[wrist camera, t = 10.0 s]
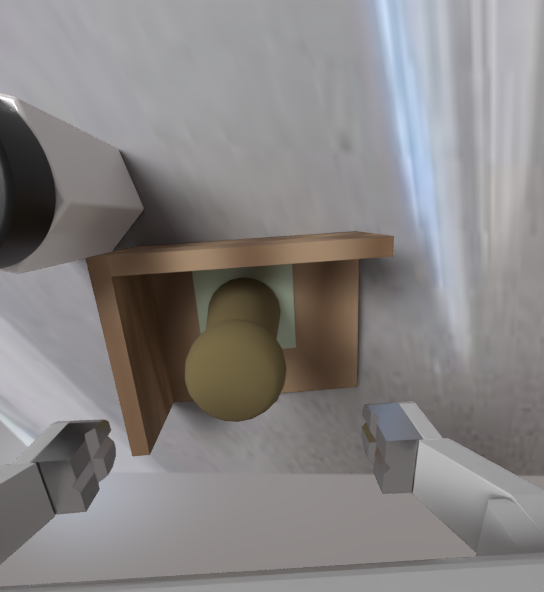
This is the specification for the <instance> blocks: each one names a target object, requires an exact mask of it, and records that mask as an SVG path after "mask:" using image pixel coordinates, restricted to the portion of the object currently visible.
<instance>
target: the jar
mask: <svg viewBox="0 0 544 592" xmlns="http://www.w3.org/2000/svg"><path fill="white" fill-rule="evenodd" d="M143 210H144V207H143V205H142V203H141V200H140V198H139V196H138V193H137V191H136V189H135V186H134V184H133V182H132V179H131V177H130V175H129V172H128V170H127V168H126V166H125V163H124V161H123V159H122V156H121V154H120V152H119V150H118V148H116V147H114V146H112V145H110V144H109V143H107V142H105V141H103V140H101V139H99V138H97V137H95V136H93V135H91V134H89V133H87V132H85V131H83V130H81V129H79V128H77V127H75V126H73V125H71V124H69V123H67V122H65V121H63V120H61V119H59V118H57V117H55V116H53V115H51V114H49V113H47V112H45V111H43V110H41V109H39V108H37V107H35V106H33V105H31V104H29V103H27V102H25V101H23V100H21V99H19V98H17V97H14V96H10V95H6V94H1V93H0V271H5V272H11V273H16V274H21V273H25V272H29V271H34V270H38V269H42V268H47V267H51V266H55V265H60V264H64V263H68V262H73V261H77V260H81V259H86V257H91V256H95V255H100V254H104V253H109V252H112V251H113V250H114V248H115V247H116V246H117V244H118V243H119V242H120V240H121V239H122V238H123V236H124V235H125V234H126V233H127V231H128V230H129V229H130V227H131V226H132V225H133V223H134V222H135V221H136V219H137V218H138V217H139V215H140V214H141V213H142V212H143Z"/></svg>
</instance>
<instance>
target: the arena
mask: <svg viewBox="0 0 544 592" xmlns="http://www.w3.org/2000/svg"><path fill="white" fill-rule="evenodd" d="M393 246H394V236H389V235H381V234H373V233H366V232H358V231H353V232H338V233H324V234H309V235H295V236H281V237H266V238H252V239H237V240H223V241H208V242H194V243H179V244H165V245H150V246H136V247H131V248H126V249H122V250H117V251H113V252H109V253H104V254H100V255H95V256H91V257H86V262H87V266H88V270H89V274H90V279H91V283H92V287H93V291H94V296H95V300H96V304H97V308H98V312H99V317H100V321H101V325H102V329H103V334H104V338H105V342H106V346H107V350H108V355H109V359H110V363H111V367H112V372H113V376H114V380H115V384H116V389H117V393H118V397H119V401H120V405H121V410H122V414H123V418H124V422H125V427H126V431H127V435H128V439H129V444H130V448H131V452H132V456H142V455H150V453H151V451H152V449H153V447H154V444H155V442H156V440H157V438H158V436H159V434H160V431H161V429H162V427H163V425H164V423H165V420H166V418H167V416H168V414H169V412H170V409H171V407H172V405H173V403H174V402H182V401H193V398H192V397H191V396H190V394H189V391H188V388H187V385H186V382H185V363H186V359H187V356H188V354H189V351H190V349H191V347H192V345H193V343H194V342H195V341H196V339H197V338H198V337H199V336H200V335H201V334H202V333H203V332H204V331H205V330H206V322H207V314H208V306H209V302H210V300H211V297H212V295H213V293H214V292H215V291H216V290H217V289H218V288H219V287H220V286H221V285H222V284H224V283H226V282H227V281H229V280H232V279H236V278H241V277H243V278H253V279H256V280H258V281H261V282H263V283H265V284H266V285H267V286H268V287H269V288H270V289H272V290H273V292H274V293H275V295H276V297H277V298H278V300H279V305H280V310H281V312H280V321H279V327H278V333H277V339H276V340H277V341H278V343H279V344H280V346H281V348H282V349H283V353H284V358H285V362H286V367H287V370H286V378H285V384H284V387H283V389H282V391H281V393H287V392H299V391H311V390H323V389H335V388H346V387H357V353H358V288H359V259H364V258H377V257H391V256H393Z"/></svg>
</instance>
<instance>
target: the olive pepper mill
mask: <svg viewBox="0 0 544 592" xmlns="http://www.w3.org/2000/svg"><path fill="white" fill-rule="evenodd" d="M280 312H281V310H280V305H279V300H278V298H277V297H276V295H275V293H274V292H273V290H272V289H270V288H269V287H268V286H267V285H266V284H265V283H263V282H261V281H258V280H256V279H253V278H243V277H241V278H236V279H232V280H229V281H227V282H226V283H224V284H222V285H221V286H220V287H219V288H218V289H217V290H216V291H215V292H214V293H213V295H212V297H211V300H210V302H209V306H208V314H207V322H206V330H205V331H204V332H203V333H202V334H201V335H200V336H199V337H198V338H197V339H196V341H195V342H194V343H193V345H192V347H191V349H190V351H189V354H188V356H187V359H186V363H185V382H186V385H187V388H188V391H189V394H190V396H191V397H192V398H193V400H194V401H195V402H196V404H197V405H198V406H199V407H200V409H202V410H203V411H205V412H206V413H207V414H209V415H210V416H212V417H215V418H218V419H221V420H224V421H236V422H239V421H244V420H248V419H252V418H254V417H256V416H258V415H260V414H262V413H264V412H265V411H266V410H268V409H269V408H270V407H271V406H272V405H273V404H274V403H275V402H276V401H277V399H278V397H279V395H280V393H281V391H282V389H283V387H284V384H285V378H286V370H287V367H286V362H285V358H284V353H283V349H282V348H281V346H280V344H279V343H278V341H277V340H276V339H277V333H278V327H279V321H280Z"/></svg>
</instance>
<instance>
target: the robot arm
mask: <svg viewBox="0 0 544 592" xmlns="http://www.w3.org/2000/svg"><path fill="white" fill-rule="evenodd" d="M363 417H364V419H365V421H366V423H365V424H364V426H363V427H362V440H363V446H364V450H365V453H366V456H367V458H368V460H369V461H370V462H372V463H373V464H374V475H375V477H376V480H377V482H378V484H379V487H380V489H381V491H382V493H383V494H386V493H413V495H414V496H415V497H416V498H417V499H418V500H419V501H421V502H422V503H423V504H424V505H425V506H426V507H427V508H428V509H429V510H430V511H431V512H432V513H434V514H435V515H436V516H437V517H438V518H439V519H440V520H441V521H442V522H443V523H444V524H445V525H447V526H448V527H449V528H450V529H451V530H452V531H453V532H454V533H455V534H456V535H457V536H459V537H460V538H461V539H462V540H463V541H464V542H465V543H466V544H467V545H468V546H469V547H471V548H472V549H473V550H474V551H475V552H476V557H462V558H446V559H430V560H414V561H398V562H382V563H367V564H351V565H335V566H320V567H304V568H289V569H274V570H258V571H243V572H226V573H210V574H194V575H178V576H162V577H146V578H131V579H115V580H98V581H82V582H66V583H52V584H35V585H21V586H20V585H19V586H3V587H0V592H544V490H542V489H540V488H538V487H537V486H535V485H533V484H531V483H529V482H527V481H526V480H524V479H522V478H520V477H518V476H517V475H515V474H513V473H511V472H509V471H508V470H506V469H504V468H502V467H500V466H498V465H497V464H495V463H493V462H491V461H489V460H487V459H486V458H484V457H482V456H480V455H478V454H476V453H475V452H473V451H471V450H469V449H467V448H465V447H464V446H462V445H460V444H458V443H456V442H454V441H453V440H451V439H449V438H443V437H442V436H441V435H440V434H439V432H438V431H437V430H436V429H435V427H434V426H433V425H432V424H431V422H430V421H429V420H428V419H427V417H426V416H425V415H424V414H423V412H422V411H421V410H420V409H419V407H418V406H417V405H416V404H415V402H413V401H403V402H396V403H382V404H366V405H364V407H363ZM110 431H111V428H110V425H109V422H108V421H106V420H79V421H59V422H55V423H53V424H51V425H50V426H49V427H48V428H47V429H46V430H45V431H44V432H43V433H42V434H41V435H40V436H39V437H38V438H37V439H36V440H35V441H34V442H33V443H32V444H31V445H30V446H29V447H28V448H27V449H26V450H25V451H24V452H23V453H22V454H21V455H20V456H19V457H18V458H17V459H16V460H15V461H14V462H13V463H12V464H8V465H4V466H2V467H0V565H1V564H2V563H3V562H4V561H5V560H6V559H7V558H8V557H9V556H11V555H12V554H13V553H14V552H15V551H16V550H17V549H18V548H20V547H21V546H22V545H23V544H24V543H25V542H26V541H28V540H29V539H30V538H31V537H32V536H33V535H34V534H36V532H38V531H39V530H40V529H41V528H42V527H44V526H45V525H46V524H47V523H48V522H49V521H50V520H51V519H53V518H54V517H55V515H56V514H67V513H76V512H86V511H87V509H88V508H89V506H90V504H91V503H92V501H93V499H94V498H95V496H96V494H97V493H98V491H99V482H100V481H101V480H102V479H104V478H105V477H106V476H107V475H108V474H109V472H110V471H111V469H112V467H113V464H114V460H115V457H116V448H115V444H114V441H113V440H111V439H110V438H109V437H108V435H109V433H110Z"/></svg>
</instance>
